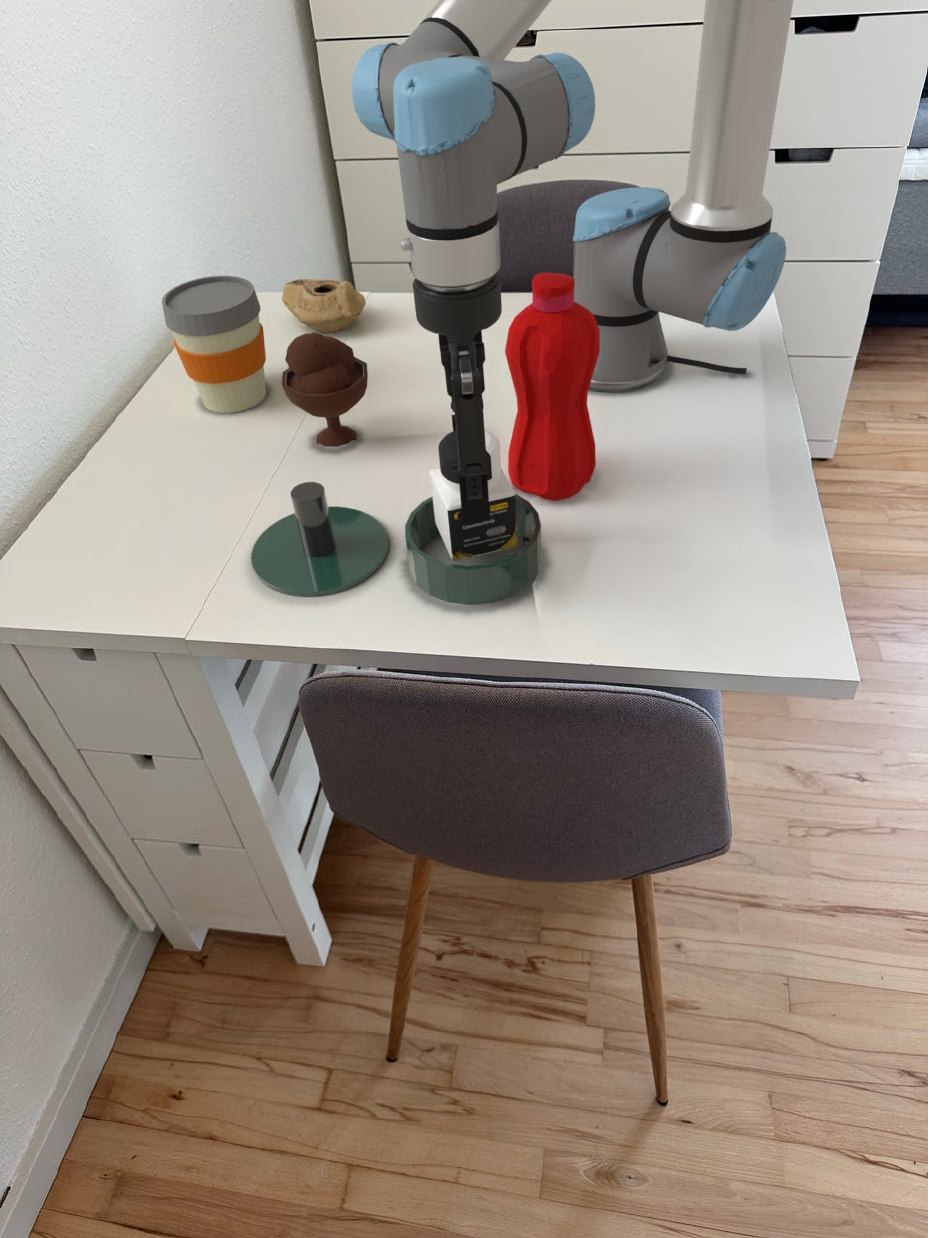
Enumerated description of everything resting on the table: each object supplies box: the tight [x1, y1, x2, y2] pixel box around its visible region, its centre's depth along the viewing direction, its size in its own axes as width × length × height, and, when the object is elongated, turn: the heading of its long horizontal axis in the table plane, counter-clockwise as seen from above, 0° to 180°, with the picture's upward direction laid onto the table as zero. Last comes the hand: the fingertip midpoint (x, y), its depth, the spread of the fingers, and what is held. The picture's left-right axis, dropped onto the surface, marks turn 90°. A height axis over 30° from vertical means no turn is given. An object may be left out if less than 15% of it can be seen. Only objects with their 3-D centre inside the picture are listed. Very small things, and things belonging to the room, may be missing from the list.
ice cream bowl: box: [281, 332, 369, 448], centre depth 113 cm, size 11×11×15 cm
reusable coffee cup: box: [161, 275, 267, 414], centre depth 123 cm, size 13×13×15 cm
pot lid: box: [250, 481, 389, 597], centre depth 98 cm, size 15×15×9 cm
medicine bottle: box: [429, 429, 518, 562], centre depth 92 cm, size 7×7×12 cm
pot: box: [404, 492, 542, 606], centre depth 97 cm, size 14×14×5 cm
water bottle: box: [504, 272, 600, 502], centre depth 101 cm, size 9×11×25 cm
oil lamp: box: [281, 278, 367, 333], centre depth 141 cm, size 11×15×8 cm
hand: (472, 493), depth 92 cm, fingers closed on medicine bottle, 8 cm apart
